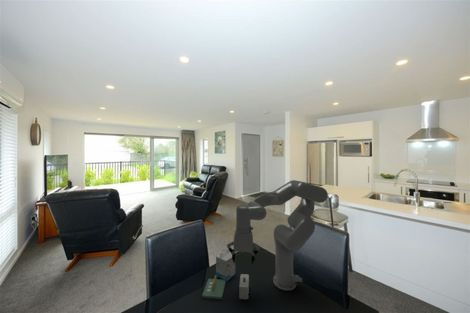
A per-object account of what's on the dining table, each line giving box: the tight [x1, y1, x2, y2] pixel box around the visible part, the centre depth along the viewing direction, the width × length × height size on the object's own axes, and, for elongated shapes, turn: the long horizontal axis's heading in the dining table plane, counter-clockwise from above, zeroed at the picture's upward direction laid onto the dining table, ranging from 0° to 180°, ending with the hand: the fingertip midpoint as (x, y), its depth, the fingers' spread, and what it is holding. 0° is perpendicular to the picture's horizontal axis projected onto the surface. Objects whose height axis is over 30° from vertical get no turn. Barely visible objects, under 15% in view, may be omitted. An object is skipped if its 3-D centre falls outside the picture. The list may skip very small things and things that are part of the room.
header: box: [201, 274, 227, 300], centre depth 91 cm, size 10×12×6 cm
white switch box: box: [238, 273, 250, 300], centre depth 89 cm, size 4×9×7 cm, turn 173°
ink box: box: [215, 248, 236, 282], centre depth 103 cm, size 9×8×13 cm
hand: (243, 261), depth 89 cm, fingers open, 9 cm apart
